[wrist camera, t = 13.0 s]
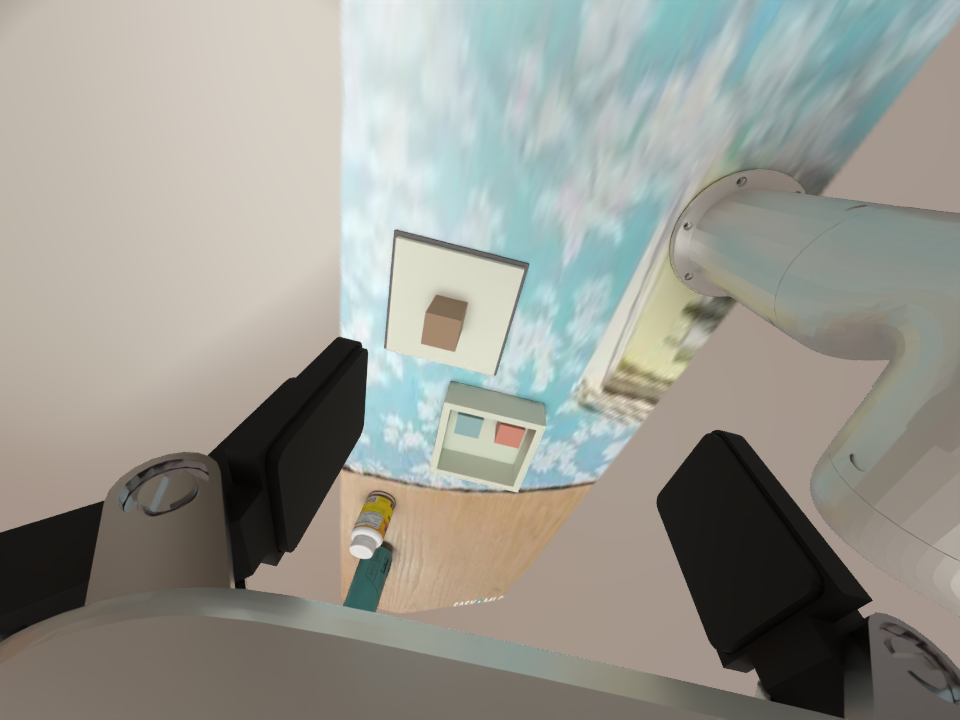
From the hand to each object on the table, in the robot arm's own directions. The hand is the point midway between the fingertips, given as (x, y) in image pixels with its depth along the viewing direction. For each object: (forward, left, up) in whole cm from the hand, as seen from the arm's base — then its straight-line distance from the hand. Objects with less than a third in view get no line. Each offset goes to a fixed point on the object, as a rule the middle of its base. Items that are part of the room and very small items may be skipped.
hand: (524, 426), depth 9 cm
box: (-3, +30, -33) cm, 45 cm away
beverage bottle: (+11, +70, -34) cm, 78 cm away
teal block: (0, +27, -33) cm, 42 cm away
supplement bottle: (+12, +54, -34) cm, 65 cm away
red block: (-6, +27, -33) cm, 43 cm away
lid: (+6, +12, -33) cm, 36 cm away
